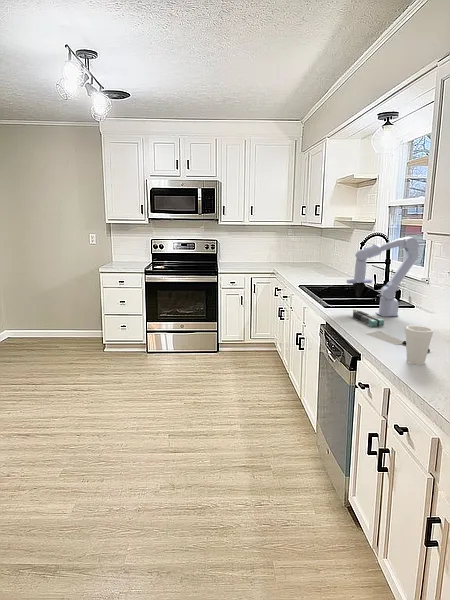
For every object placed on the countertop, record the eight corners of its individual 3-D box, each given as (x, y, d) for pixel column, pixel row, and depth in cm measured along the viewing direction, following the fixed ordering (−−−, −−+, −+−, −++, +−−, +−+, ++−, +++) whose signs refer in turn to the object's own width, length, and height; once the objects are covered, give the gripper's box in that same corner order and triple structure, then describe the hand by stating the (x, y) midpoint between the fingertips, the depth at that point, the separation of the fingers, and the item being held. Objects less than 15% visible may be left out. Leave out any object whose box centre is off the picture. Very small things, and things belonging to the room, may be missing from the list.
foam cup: (404, 364, 172) (408, 330, 169) (400, 357, 181) (403, 324, 178) (431, 366, 170) (436, 332, 168) (425, 359, 179) (429, 326, 177)
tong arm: (351, 316, 248) (352, 309, 247) (358, 315, 249) (359, 309, 248) (376, 326, 227) (376, 319, 226) (383, 326, 228) (384, 319, 227)
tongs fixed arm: (351, 318, 244) (352, 312, 243) (356, 318, 245) (357, 312, 244) (371, 327, 226) (372, 320, 225) (377, 326, 227) (377, 320, 226)
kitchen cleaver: (362, 333, 212) (379, 328, 216) (362, 336, 213) (379, 332, 217) (415, 353, 185) (433, 348, 189) (415, 357, 185) (433, 352, 189)
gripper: (352, 273, 246) (350, 298, 249) (376, 272, 250) (373, 297, 253) (345, 271, 253) (343, 295, 255) (368, 270, 257) (366, 295, 259)
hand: (357, 296), depth 255 cm, fingers closed
